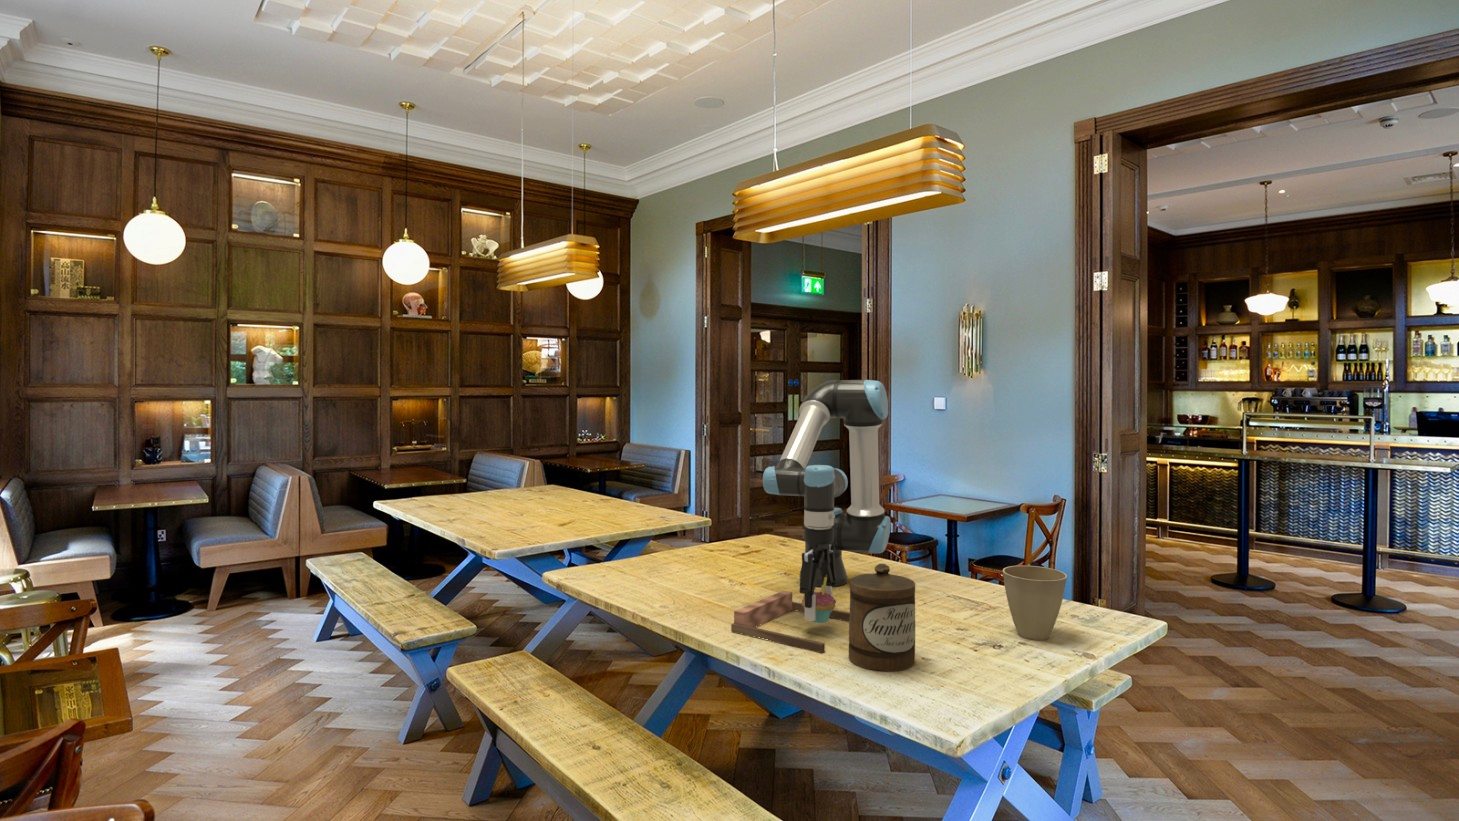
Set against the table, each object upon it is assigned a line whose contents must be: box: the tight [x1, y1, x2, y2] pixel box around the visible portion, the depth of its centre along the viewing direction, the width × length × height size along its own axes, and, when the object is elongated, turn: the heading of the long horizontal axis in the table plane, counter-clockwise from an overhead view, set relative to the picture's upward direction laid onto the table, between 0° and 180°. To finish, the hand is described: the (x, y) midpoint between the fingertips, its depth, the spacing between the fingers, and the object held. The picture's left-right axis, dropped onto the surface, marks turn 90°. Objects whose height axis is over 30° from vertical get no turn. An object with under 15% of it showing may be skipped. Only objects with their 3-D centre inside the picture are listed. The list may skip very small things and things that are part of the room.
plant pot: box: [1002, 565, 1068, 641], centre depth 189 cm, size 15×15×16 cm
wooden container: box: [848, 563, 916, 672], centre depth 171 cm, size 15×15×22 cm
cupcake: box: [801, 575, 837, 624], centre depth 191 cm, size 9×8×12 cm
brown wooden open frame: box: [730, 590, 850, 654], centre depth 194 cm, size 26×26×5 cm
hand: (818, 615), depth 192 cm, fingers closed on cupcake, 8 cm apart
